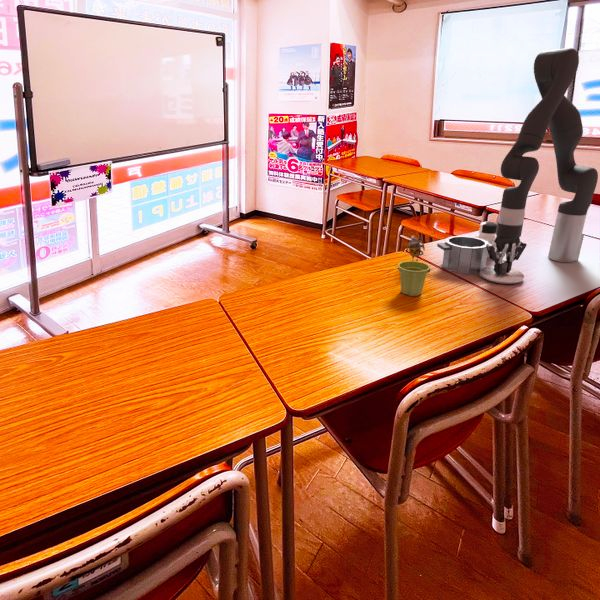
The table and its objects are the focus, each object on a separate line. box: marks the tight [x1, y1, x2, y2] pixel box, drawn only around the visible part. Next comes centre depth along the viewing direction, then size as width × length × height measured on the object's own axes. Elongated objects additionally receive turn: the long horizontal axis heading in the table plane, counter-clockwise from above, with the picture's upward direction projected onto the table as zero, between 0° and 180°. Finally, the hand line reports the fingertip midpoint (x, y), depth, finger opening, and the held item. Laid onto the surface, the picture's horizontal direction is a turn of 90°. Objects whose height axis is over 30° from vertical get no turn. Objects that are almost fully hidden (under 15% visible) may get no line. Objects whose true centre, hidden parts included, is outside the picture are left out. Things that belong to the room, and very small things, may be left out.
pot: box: [436, 235, 493, 275], centre depth 176 cm, size 19×14×9 cm
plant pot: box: [397, 260, 431, 297], centre depth 154 cm, size 9×9×9 cm
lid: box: [479, 259, 525, 285], centre depth 166 cm, size 14×14×5 cm
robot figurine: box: [404, 235, 431, 273], centre depth 172 cm, size 11×9×12 cm
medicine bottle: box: [474, 221, 497, 258], centre depth 188 cm, size 7×7×12 cm
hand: (501, 272), depth 166 cm, fingers closed on lid, 3 cm apart
